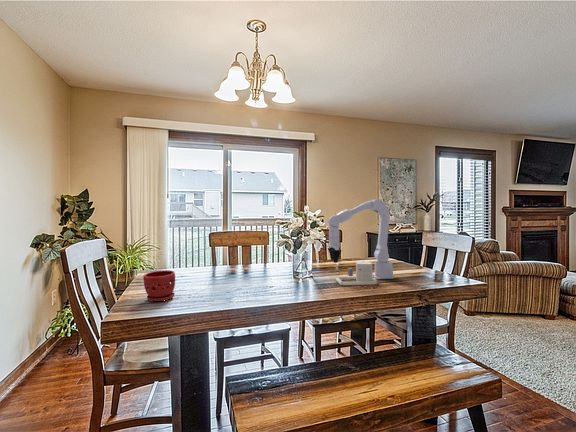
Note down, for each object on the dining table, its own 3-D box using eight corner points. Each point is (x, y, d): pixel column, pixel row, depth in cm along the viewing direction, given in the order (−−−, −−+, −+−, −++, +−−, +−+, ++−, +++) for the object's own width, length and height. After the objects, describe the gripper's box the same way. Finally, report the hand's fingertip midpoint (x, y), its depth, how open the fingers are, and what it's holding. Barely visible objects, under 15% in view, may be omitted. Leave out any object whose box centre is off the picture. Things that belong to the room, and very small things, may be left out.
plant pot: (152, 295, 152) (151, 270, 152) (180, 295, 152) (179, 270, 151) (138, 304, 139) (137, 276, 139) (168, 304, 139) (168, 276, 138)
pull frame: (366, 275, 186) (366, 267, 186) (378, 284, 167) (378, 274, 166) (332, 276, 185) (332, 268, 185) (341, 285, 165) (340, 275, 165)
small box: (371, 281, 174) (371, 261, 174) (372, 284, 168) (372, 263, 168) (355, 281, 175) (355, 261, 174) (357, 283, 169) (356, 263, 169)
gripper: (324, 236, 190) (324, 259, 190) (329, 238, 175) (330, 263, 176) (336, 236, 190) (336, 259, 191) (342, 238, 176) (342, 263, 176)
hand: (334, 261), depth 183 cm, fingers open, 7 cm apart
